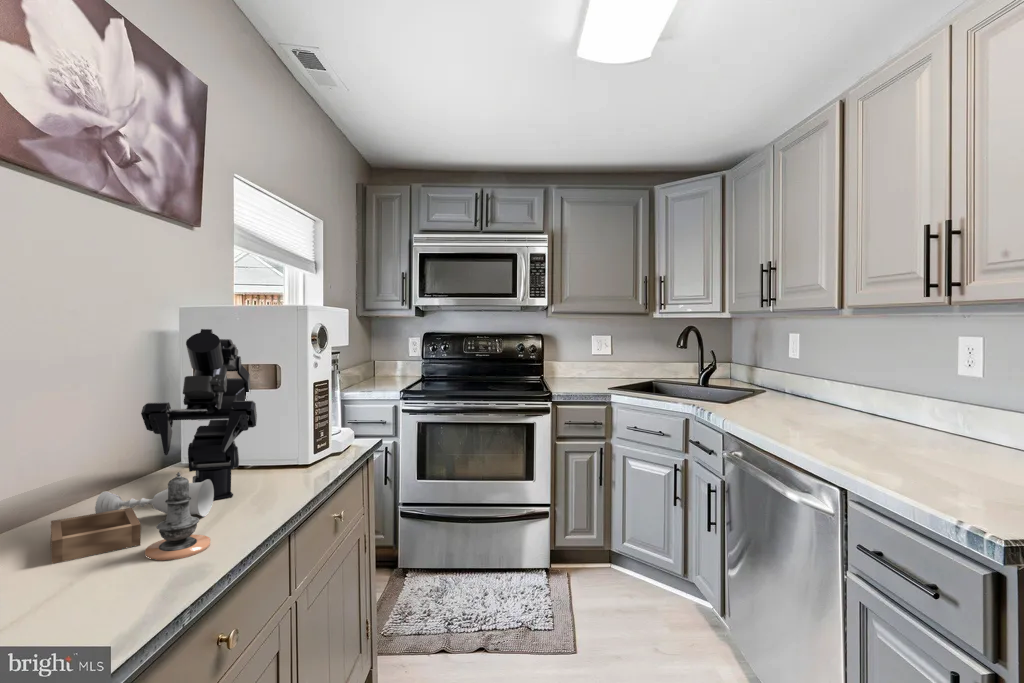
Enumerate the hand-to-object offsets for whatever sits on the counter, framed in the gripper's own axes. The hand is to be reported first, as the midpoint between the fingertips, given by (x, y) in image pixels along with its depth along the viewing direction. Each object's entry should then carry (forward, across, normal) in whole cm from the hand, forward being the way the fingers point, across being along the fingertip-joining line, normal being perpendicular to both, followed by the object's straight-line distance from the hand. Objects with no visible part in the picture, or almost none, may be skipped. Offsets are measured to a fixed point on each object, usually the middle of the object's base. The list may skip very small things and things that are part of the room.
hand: (194, 452), depth 94 cm
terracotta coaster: (+17, 0, +2) cm, 17 cm away
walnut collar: (+12, -14, +7) cm, 20 cm away
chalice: (+1, -17, +15) cm, 22 cm away
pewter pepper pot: (+16, 0, +2) cm, 17 cm away
